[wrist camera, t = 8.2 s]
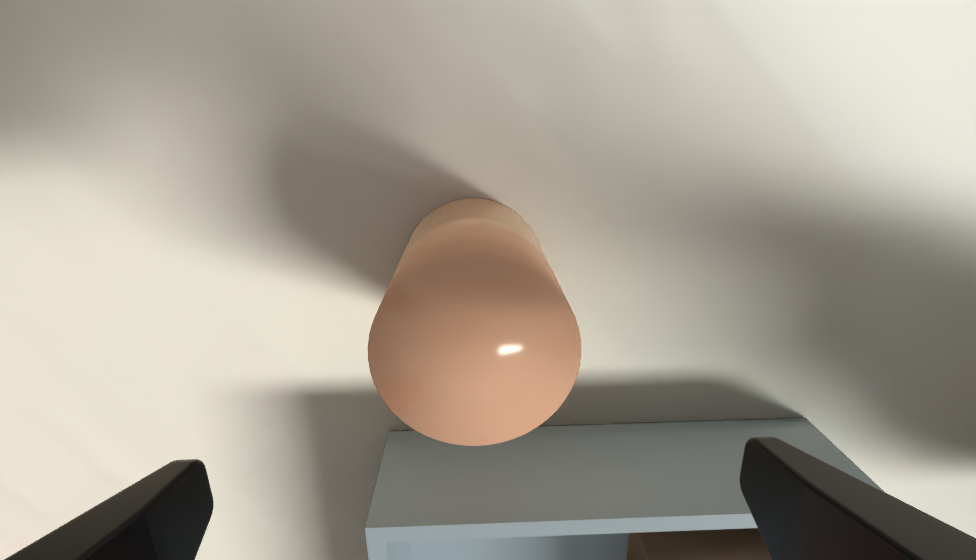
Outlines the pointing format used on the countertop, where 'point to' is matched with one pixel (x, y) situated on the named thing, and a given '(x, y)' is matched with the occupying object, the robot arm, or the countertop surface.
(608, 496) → the box
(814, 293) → the countertop surface
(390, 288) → the cylinder
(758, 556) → the cube
